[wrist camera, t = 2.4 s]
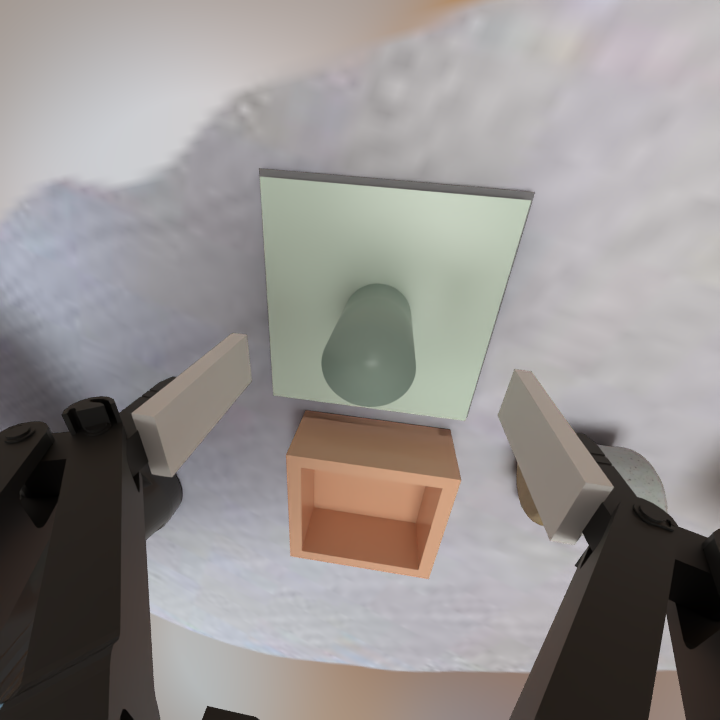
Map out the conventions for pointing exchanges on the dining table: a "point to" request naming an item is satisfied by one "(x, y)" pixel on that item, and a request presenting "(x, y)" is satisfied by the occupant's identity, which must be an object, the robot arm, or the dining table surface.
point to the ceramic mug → (628, 466)
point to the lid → (383, 292)
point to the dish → (370, 492)
